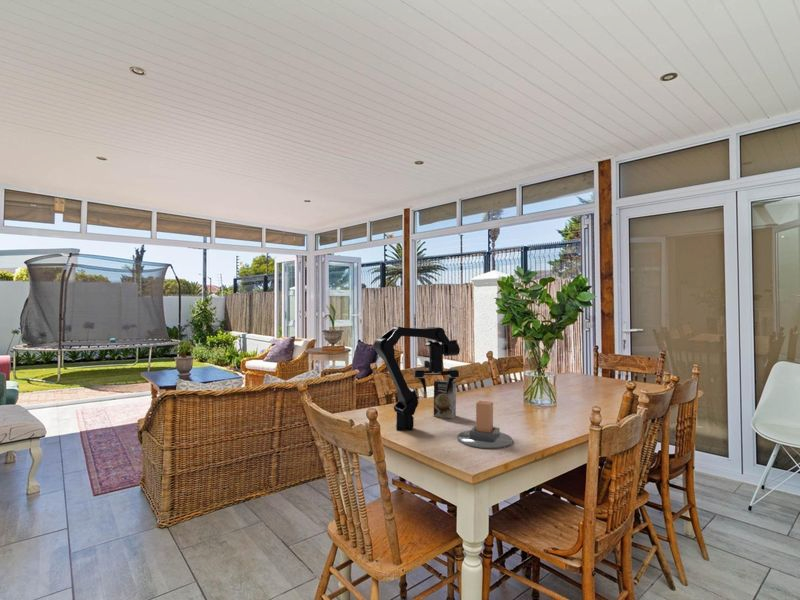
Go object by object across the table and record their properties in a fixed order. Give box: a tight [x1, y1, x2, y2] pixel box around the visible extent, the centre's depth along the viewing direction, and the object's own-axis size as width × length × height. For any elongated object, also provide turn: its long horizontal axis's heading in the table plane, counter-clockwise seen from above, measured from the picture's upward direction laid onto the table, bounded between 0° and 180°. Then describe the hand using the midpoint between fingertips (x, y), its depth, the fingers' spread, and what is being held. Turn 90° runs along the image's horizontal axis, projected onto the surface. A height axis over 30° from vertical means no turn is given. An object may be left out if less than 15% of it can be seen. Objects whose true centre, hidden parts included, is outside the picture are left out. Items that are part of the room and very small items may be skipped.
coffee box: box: [433, 379, 457, 419], centre depth 197 cm, size 9×6×16 cm
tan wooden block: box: [475, 400, 494, 433], centre depth 162 cm, size 5×5×13 cm
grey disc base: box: [457, 425, 513, 450], centre depth 162 cm, size 20×20×4 cm
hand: (436, 393), depth 184 cm, fingers open, 9 cm apart
